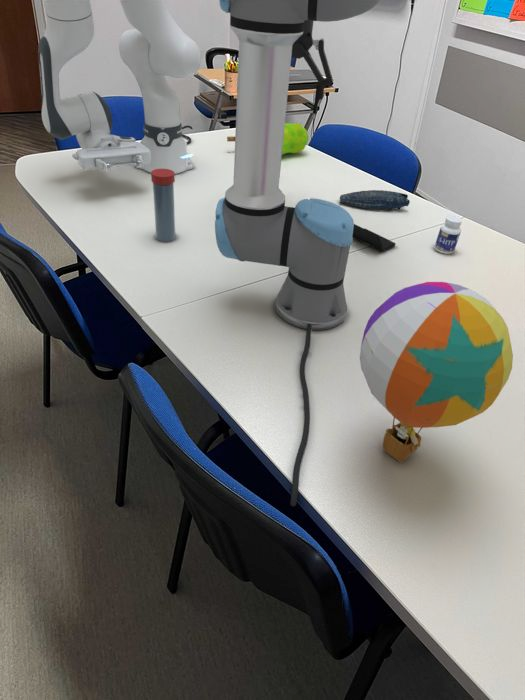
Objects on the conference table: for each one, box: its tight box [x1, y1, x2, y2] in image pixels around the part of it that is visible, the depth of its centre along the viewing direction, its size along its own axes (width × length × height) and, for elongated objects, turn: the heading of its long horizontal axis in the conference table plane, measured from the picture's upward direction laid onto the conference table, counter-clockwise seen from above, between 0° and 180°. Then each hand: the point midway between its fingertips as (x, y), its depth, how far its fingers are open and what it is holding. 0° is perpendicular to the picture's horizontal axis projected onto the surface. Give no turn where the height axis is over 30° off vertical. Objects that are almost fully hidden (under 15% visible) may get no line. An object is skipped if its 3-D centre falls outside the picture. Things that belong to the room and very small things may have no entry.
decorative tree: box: [226, 122, 309, 156], centre depth 188 cm, size 18×10×30 cm
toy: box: [359, 281, 514, 463], centre depth 73 cm, size 20×20×30 cm
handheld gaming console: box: [352, 223, 396, 253], centre depth 138 cm, size 12×7×10 cm
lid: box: [150, 169, 176, 185], centre depth 124 cm, size 6×6×2 cm
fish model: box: [339, 189, 411, 211], centre depth 158 cm, size 7×21×5 cm, turn 84°
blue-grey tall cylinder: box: [152, 182, 176, 243], centre depth 129 cm, size 5×5×16 cm
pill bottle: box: [434, 215, 463, 255], centre depth 137 cm, size 5×5×9 cm
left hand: (125, 165), depth 141 cm, fingers open, 8 cm apart
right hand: (288, 109), depth 135 cm, fingers open, 13 cm apart
